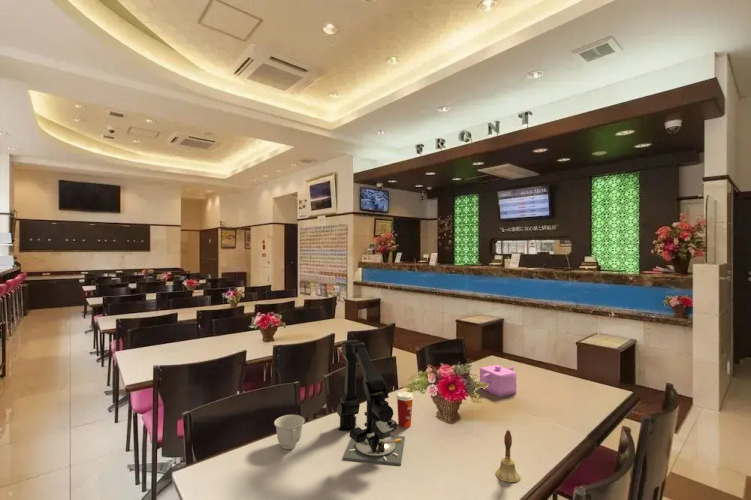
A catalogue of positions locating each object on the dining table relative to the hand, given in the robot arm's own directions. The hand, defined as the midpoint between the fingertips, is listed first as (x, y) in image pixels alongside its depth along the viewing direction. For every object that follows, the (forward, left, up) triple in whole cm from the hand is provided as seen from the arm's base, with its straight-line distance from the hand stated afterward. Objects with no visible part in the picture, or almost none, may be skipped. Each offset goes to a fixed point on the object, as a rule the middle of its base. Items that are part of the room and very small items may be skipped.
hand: (373, 451), depth 143 cm
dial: (0, +8, -2) cm, 8 cm away
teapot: (+60, +81, -3) cm, 101 cm away
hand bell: (+49, -2, -3) cm, 49 cm away
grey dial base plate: (0, +8, -3) cm, 8 cm away
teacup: (-34, +3, -3) cm, 35 cm away
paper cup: (+10, +30, -3) cm, 31 cm away
